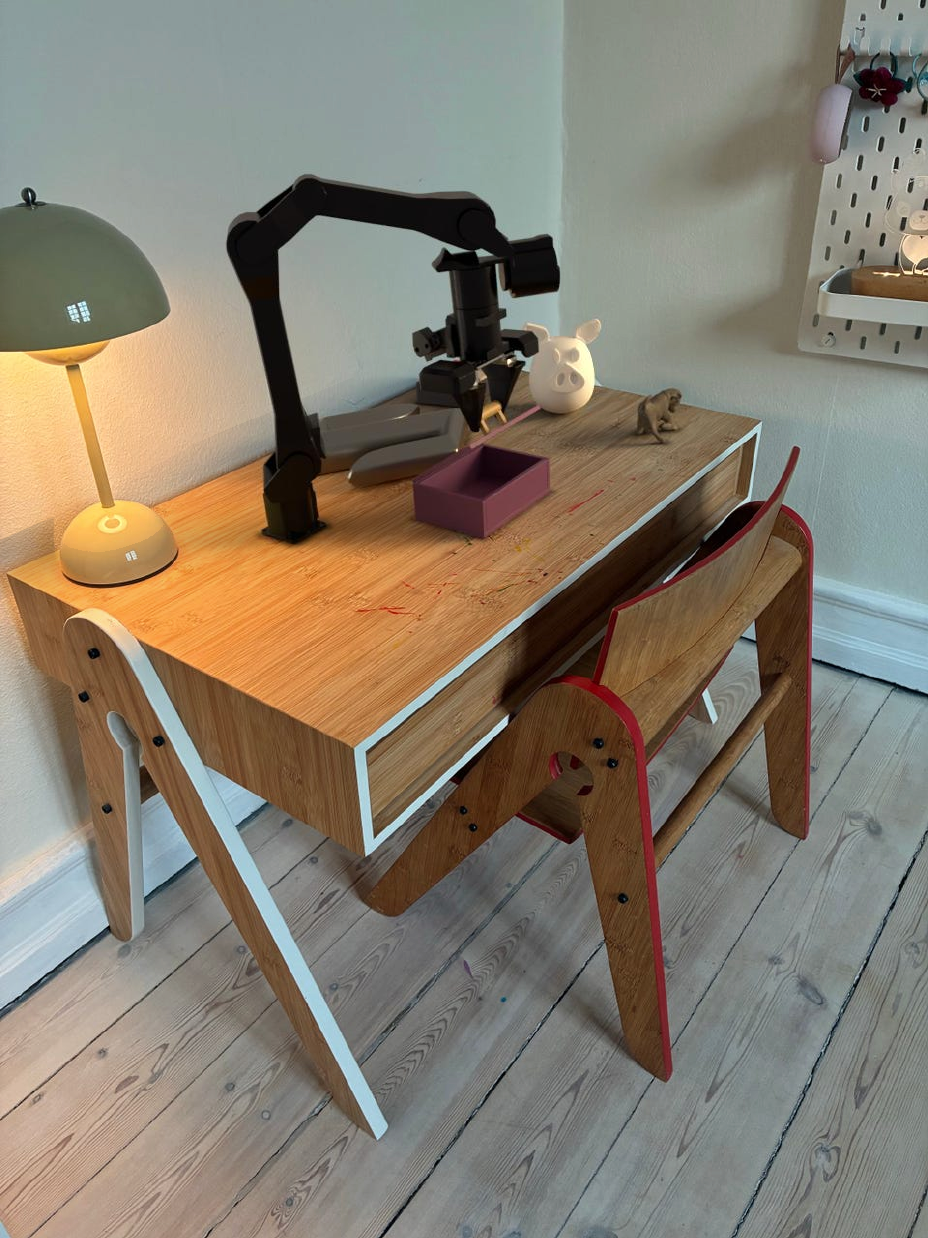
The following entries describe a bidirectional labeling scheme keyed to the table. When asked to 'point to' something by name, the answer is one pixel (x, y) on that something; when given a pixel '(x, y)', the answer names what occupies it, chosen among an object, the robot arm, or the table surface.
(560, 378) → the piggy bank
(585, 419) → the table surface
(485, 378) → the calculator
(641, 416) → the brown monkey figurine
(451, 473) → the maroon open box
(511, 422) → the file box lid
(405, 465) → the emblem
